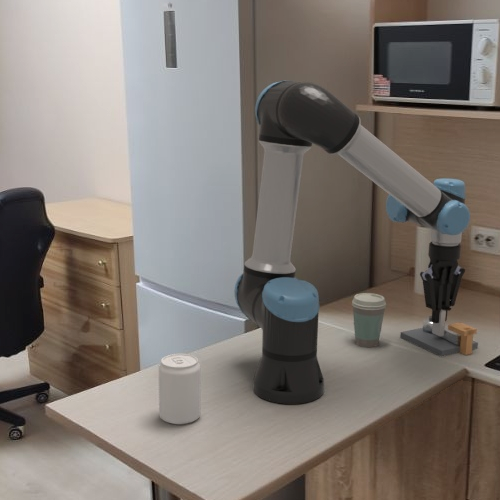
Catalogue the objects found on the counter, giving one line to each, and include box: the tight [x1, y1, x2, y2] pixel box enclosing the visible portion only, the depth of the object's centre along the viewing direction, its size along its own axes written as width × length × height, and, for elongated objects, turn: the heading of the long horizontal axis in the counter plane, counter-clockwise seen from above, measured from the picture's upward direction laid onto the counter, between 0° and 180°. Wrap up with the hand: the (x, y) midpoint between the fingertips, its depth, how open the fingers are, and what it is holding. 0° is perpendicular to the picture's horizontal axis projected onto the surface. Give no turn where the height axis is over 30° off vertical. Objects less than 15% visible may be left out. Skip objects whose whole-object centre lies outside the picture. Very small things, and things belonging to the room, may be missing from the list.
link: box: [422, 315, 461, 345], centre depth 194 cm, size 14×5×3 cm, turn 25°
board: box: [399, 327, 479, 357], centre depth 194 cm, size 12×15×2 cm
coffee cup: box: [351, 292, 387, 348], centre depth 192 cm, size 8×8×12 cm
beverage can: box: [158, 353, 202, 425], centre depth 150 cm, size 8×8×12 cm
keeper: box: [448, 322, 478, 356], centre depth 188 cm, size 4×6×6 cm
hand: (438, 334), depth 192 cm, fingers closed
